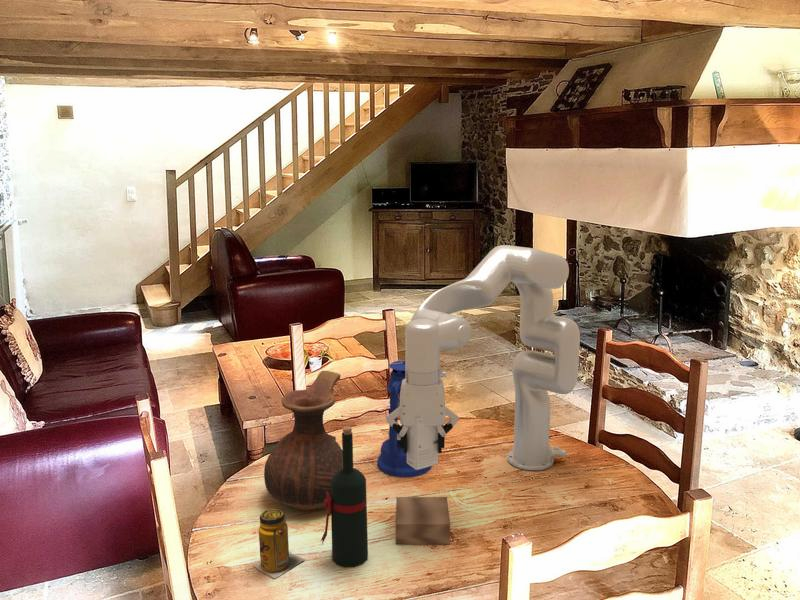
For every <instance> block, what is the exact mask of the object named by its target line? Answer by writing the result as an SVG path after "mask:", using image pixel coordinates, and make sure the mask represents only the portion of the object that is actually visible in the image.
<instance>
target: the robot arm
mask: <svg viewBox="0 0 800 600" xmlns="http://www.w3.org/2000/svg"><path fill="white" fill-rule="evenodd" d="M569 267H570V266H569V264H568V261H567V260H566V259H565V257H563V256H562V255H560V254H556V253H553V252H552V253H551V252H547V251H544V250H541V249H537V248H532V247H526V246H525V247H524V246H517V245H509V244H506V245H505V244H501V245H497V246H495V247H493V248H492V249H491V250H490V251H489V252H488V253H487V254H486V255H485V257H484V258H483V259H482V260H481V261H480V262H479V263H478V264H477V265H476V267H474V268H473V270H472V271H471V272H470V273H469V274H468V275H467V277H466V278H463V279H461V280H458V281H456V282H453V283H452V284H448V285H447V286H445V287H442V288H440V289H438V290H437V291H434V292H433V293H432V294H430V295H429V296H428V297H427V298H426V299H425V300H424V301H423V302H422V303H421V305H419V306H418V307H417V309H416V310H415V312H414V313H413V315H412V317H411V320H410V321H408V322H407V324H406V326H405V331H404V332H405V334H404V335H405V336H404V337H405V339H404V340H405V341H404V343H405V346H404V347H405V349H404V350H405V351H404V356H405V358H404V360H405V379H403V380H402V384H401V391H400V406H399V407H398V408H397V409H396V410H394V411H393V412H392V413H390V412H389V414H388V415H386V416H387V417H386V416H385V421H386V422H387V423H388V425H389V424H390V426H392V428H393V429H394V430H395V431H396V432H397V433H398V434H399V436H400V437H401V448H404V453H407V433H406V432H407V430H408V428H409V426H413V424H414V418H423V421H424V425H425V426H436V428H437V429H438V454H442V450H443V449H445V443H446V442H445V440H446V439H445V437H446V436H447V434H448V433H449V432H450V431H451V430H452V429H453V428H454V426H455V425H456V424H458V422H459V421H460V417H459V416H458V415H457V414H456V413H455V412H453V411H452V410H451V409H449V408H448V407H447V406H446V397H445V396H446V395H445V385H444V380H443V379H442V378H446V377H447V370H443V369H441V352H442V351H451V350H452V351H453V350H457V349H460V348H462V347H464V346H465V345H466V344H467V343H468V342H469V340H470V339H471V335H472V327H471V324H470V323H469V321H468V320H467V319H466V318H464V317H463V316H460V315H457V314H455V313H457V312H463V311H468V310H475V309H479V308H485V307H489V306H490V305H491V304H493V303H494V302H495V300H496V299H498V297H499V296H500V295H501V294H502V293H503V291H504V290H505V289H506V287H507V286H509V284H510V283H513V284H514V285H515V287H516V288H517V290H518V293H519V297H520V306H519V307H520V309H519V311H520V312H519V338H520V341H521V342H522V344H523V345H525V346H526V347H527V346H528V347H529V348H533V349H537V350H543V351H547V352H551V353H553V354H550V353H545V352H541V351H536V350H530V349H529V350H522V351H520V352H519V353H517V354H516V355H515V357H514V359H513V361H512V367H511V368H512V376H513V377H512V378H513V382H514V394H515V395H514V397H515V398H514V423H513V426H514V427H513V448H512V449H511V450H510V451H509V452H508V453H507V461H508V463H509V464H511V465H512V466H513V467H515V468H517V469H521V470H525V471H542V470H546V469H549V468H550V467H552V466H553V464H554V459H555V457H566V455H567V452H566V449H562V448H561V449H560V446H551V445H550V444H549V443H550V442H549V441H550V426H551V424H550V423H551V422H550V421H551V399H550V395H549V392H551V393H554V394H558V395H567V394H570V393H571V392H572V391H574V390H575V387H576V385H577V382H578V381H577V380H578V376H579V365H580V363H579V362H580V344H581V334H580V333H581V332H580V329H579V326H578V324H577V323H576V322H575V320H574V319H572V318H568V317H564V316H559V315H555V313H554V294H553V290H556V289H559V288H562V287H563V286H564V285H565V284H566V282H567V281H568V278H569V274H570V268H569ZM552 289H553V290H552ZM396 417H399V422H400V424H401V425H400V424H399V423H398V421H397V422H396V421H395V420H394V419H395V418H396ZM446 417H448V418H449V421H448V422H446Z"/></svg>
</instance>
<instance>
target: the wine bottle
mask: <svg viewBox="0 0 800 600" xmlns="http://www.w3.org/2000/svg"><path fill="white" fill-rule="evenodd" d="M352 430H353V428H352V427H351V426H350V425H348V426H342V433H341V442H342V444H341V449H342V454H343V468H342V469H340V470H339V471H337V472H336V473H335V474H334V475H333V477H332V479H331V496H330V493H328V492H327V491H326V499H325V500H324V502H325V507H324V508H325V510H326V517H325V519H326V520H325V526H324V527H325V528H324V532H323V535H322V538H321V539H320V542H321V545H323V544H324V541H325V540H326V538H327V535H328V531H329V529H328V528H329V519H330V518H331V519H330V520H331V521H330V522H331V558H332V559H331V560H332V561H333V562H334V563H335V565H337V566H339V567H342V568H355V567H359V566H362V565H364V564H365V563H366V562H367V561H368V559H369V551H368V550H369V547H368V545H369V544H368V543H369V542H368V540H369V539H368V538H369V537H368V510H367V506H368V503H367V499H368V498H367V479H366V477H365V475H364V474H363V473H362V471H360V470H359V469H357V468H355V467H354V445H353V443H354V442H353V438H354V437H353V435H354V434H353V432H352ZM329 517H330V518H329Z"/></svg>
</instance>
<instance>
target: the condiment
mask: <svg viewBox="0 0 800 600" xmlns="http://www.w3.org/2000/svg"><path fill="white" fill-rule="evenodd" d="M258 541H259V542H258V543H259V557H260V558H259V560H260V561H259V562H258V561H257V562H256V563H254V564H252V567H254V568H256V569H257V570H258V571H260V572H262V573H264V574H265V575H267V576H269V577H271V578H273V579H276V578H278V577H280V576H282V575H283V574H285V573H287V572H288V571H289V570H291V569H292V568H294V567H296V566H297V565H299V564H300V563H302V562H304V561H305V560H306V559H305V558H302V557H300V556H299V555H295V554H294V553H293V552H290V549H289V548H290V547H289V527H288V524H287V521H286V513H285V512H284V511H283V510H282V509H279V508H271V509H270V508H269V509H267V510H264V511H262V512H261V514H259V527H258Z"/></svg>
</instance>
